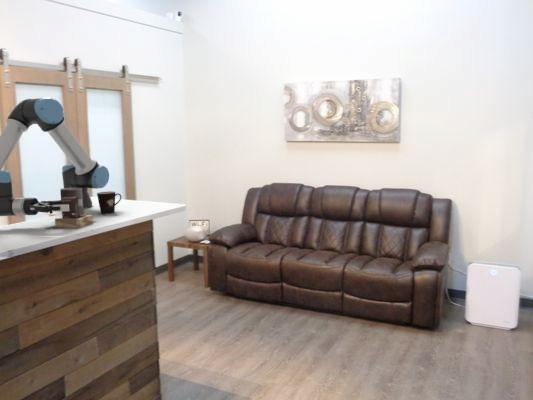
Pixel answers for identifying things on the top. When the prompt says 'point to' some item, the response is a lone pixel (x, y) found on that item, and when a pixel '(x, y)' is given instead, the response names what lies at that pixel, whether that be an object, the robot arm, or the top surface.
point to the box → (70, 207)
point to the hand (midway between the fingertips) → (75, 205)
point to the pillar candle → (73, 193)
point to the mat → (66, 227)
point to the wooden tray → (74, 221)
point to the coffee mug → (107, 202)
